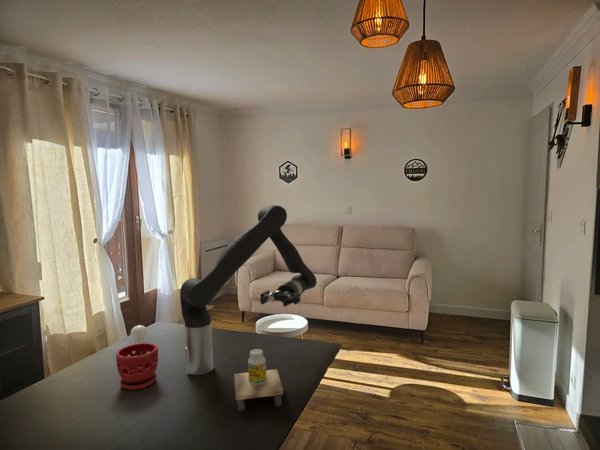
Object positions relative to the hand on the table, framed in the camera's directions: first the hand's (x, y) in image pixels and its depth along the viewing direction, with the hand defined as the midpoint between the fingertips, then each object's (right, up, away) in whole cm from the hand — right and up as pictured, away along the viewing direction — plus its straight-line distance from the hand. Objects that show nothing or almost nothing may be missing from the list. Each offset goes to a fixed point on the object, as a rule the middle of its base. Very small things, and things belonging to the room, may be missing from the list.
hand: (273, 302), depth 139 cm
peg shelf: (-4, -27, -14) cm, 31 cm away
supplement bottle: (-4, -22, -15) cm, 27 cm away
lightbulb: (-55, -25, +23) cm, 65 cm away
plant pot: (-45, -27, -3) cm, 53 cm away
